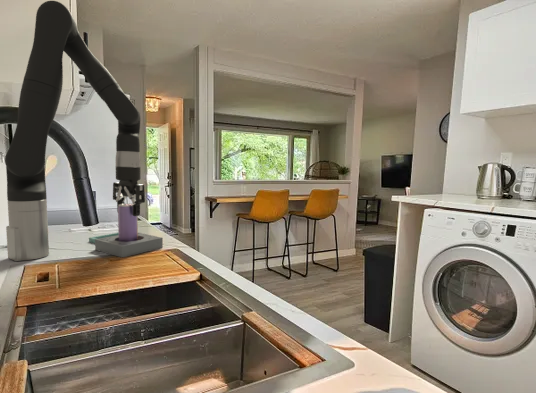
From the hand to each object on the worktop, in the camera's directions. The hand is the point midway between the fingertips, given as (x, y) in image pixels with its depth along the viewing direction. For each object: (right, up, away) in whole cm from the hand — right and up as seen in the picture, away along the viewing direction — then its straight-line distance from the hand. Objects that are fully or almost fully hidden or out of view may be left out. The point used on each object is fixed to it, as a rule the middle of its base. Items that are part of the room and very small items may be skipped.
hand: (128, 214), depth 105 cm
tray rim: (-10, -11, +11) cm, 19 cm away
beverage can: (-1, -12, +2) cm, 12 cm away
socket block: (0, -12, +1) cm, 12 cm away
